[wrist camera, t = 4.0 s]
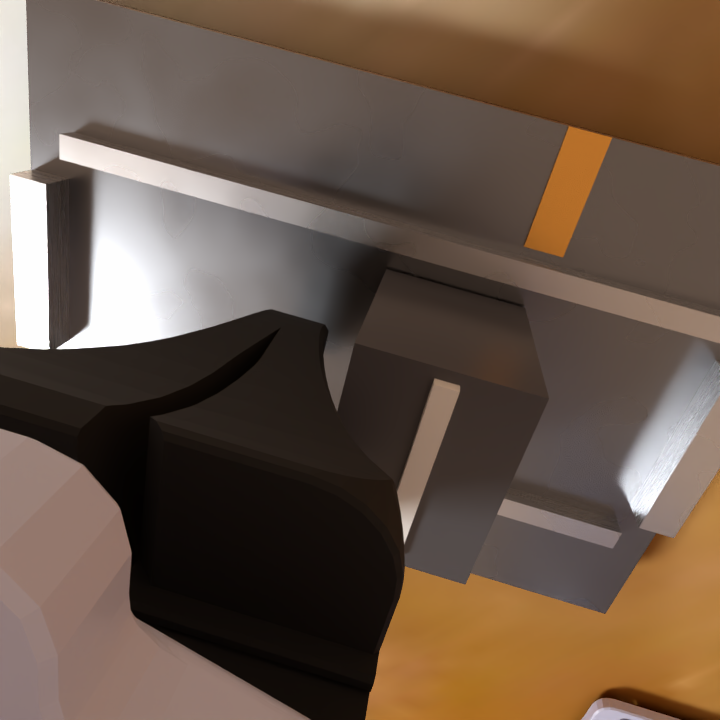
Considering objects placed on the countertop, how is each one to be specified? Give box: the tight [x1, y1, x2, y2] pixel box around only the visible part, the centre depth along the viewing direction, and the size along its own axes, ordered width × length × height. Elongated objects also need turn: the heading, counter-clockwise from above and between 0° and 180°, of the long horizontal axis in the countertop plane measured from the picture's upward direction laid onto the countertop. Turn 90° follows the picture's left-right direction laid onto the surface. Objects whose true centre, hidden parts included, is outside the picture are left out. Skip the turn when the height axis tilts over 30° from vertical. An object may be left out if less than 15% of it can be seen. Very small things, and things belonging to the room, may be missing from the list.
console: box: [10, 0, 720, 614], centre depth 13 cm, size 16×11×2 cm
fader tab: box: [337, 269, 549, 584], centre depth 11 cm, size 3×4×4 cm
